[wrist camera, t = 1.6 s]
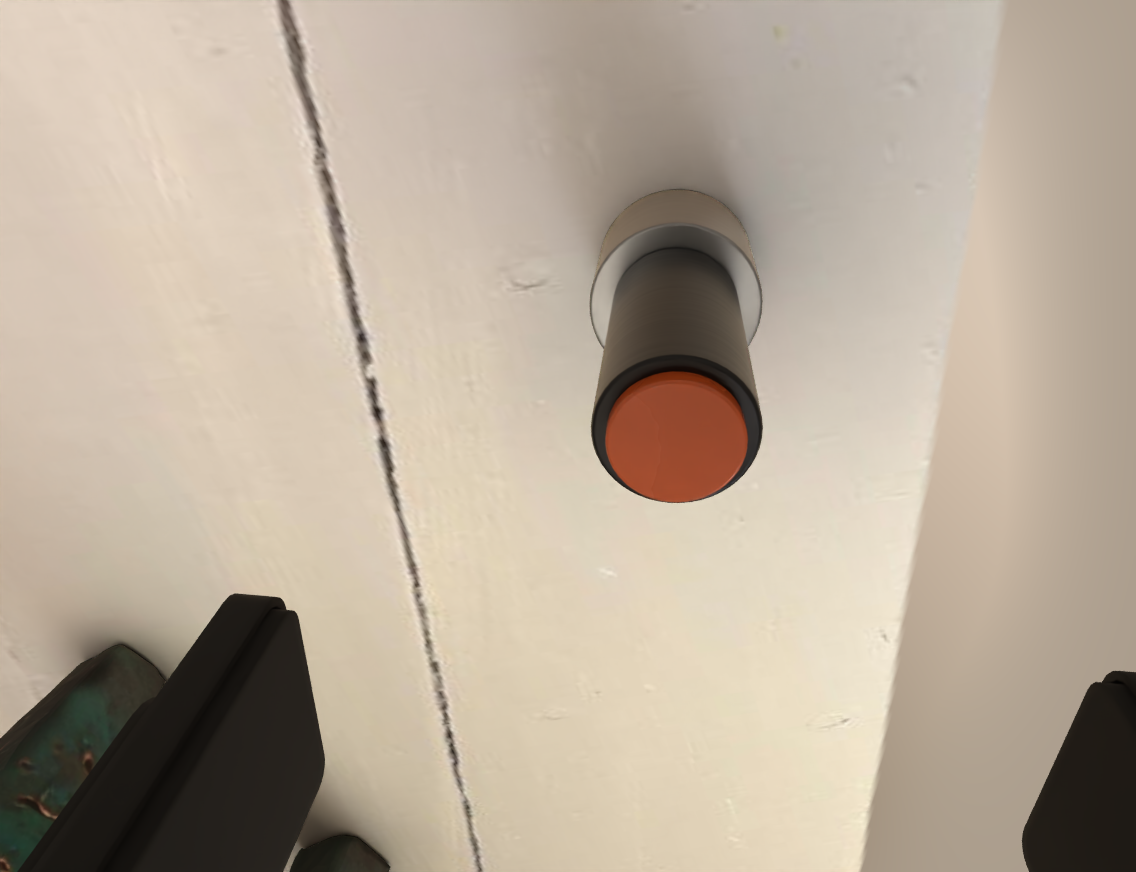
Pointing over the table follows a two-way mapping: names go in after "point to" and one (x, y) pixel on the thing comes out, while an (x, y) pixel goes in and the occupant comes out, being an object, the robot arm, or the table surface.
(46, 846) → the robot arm
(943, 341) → the table surface
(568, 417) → the table surface
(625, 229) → the torch
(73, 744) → the ceramic cat
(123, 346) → the table surface
